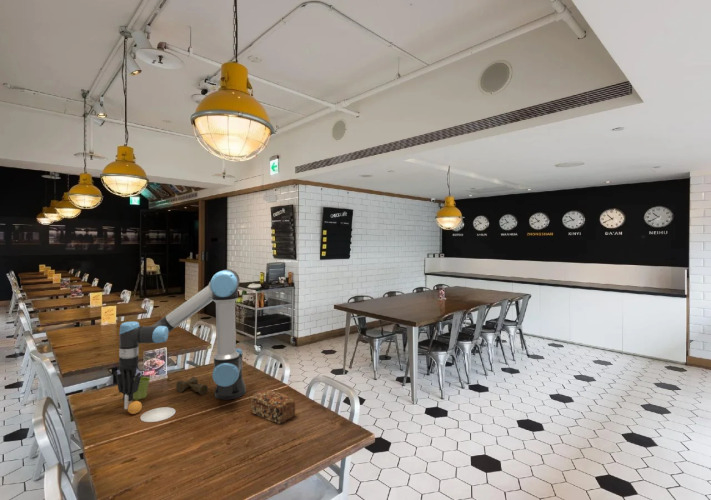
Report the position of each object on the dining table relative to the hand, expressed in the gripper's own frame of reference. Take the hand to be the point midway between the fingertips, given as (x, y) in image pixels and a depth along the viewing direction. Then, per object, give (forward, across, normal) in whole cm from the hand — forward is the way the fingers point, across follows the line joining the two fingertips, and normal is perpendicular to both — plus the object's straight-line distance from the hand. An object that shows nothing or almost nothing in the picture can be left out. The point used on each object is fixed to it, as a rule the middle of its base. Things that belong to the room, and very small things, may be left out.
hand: (128, 407), depth 166 cm
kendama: (+3, +15, +28) cm, 31 cm away
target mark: (+2, +15, 0) cm, 15 cm away
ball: (0, +3, 0) cm, 3 cm away
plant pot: (+3, -6, +16) cm, 17 cm away
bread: (+2, +66, +6) cm, 67 cm away
